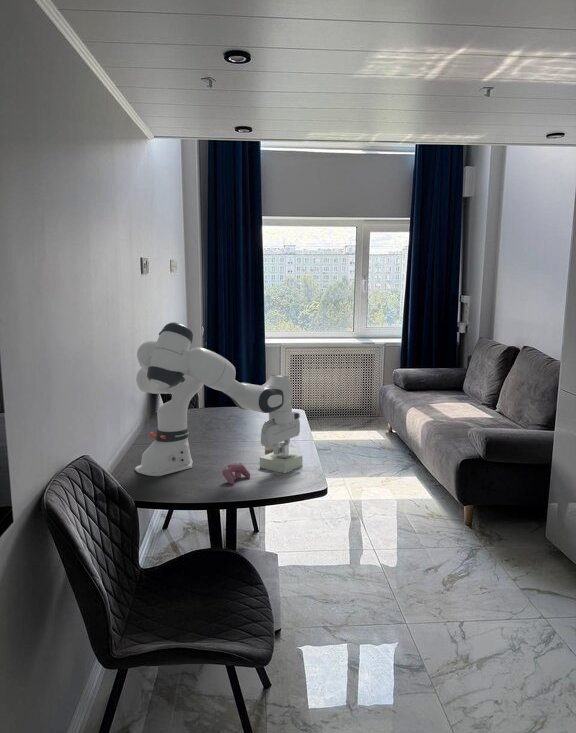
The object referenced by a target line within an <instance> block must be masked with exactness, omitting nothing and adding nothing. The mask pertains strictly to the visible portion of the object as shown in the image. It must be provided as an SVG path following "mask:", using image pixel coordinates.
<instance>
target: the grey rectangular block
mask: <svg viewBox="0 0 576 733" xmlns="http://www.w3.org/2000/svg"><path fill="white" fill-rule="evenodd" d="M289 445H290V443H289V444H285V443H284V442H280V443H278V446H277V448H278V449H280V451H279V452H280V453H279V454H277V455H275V454H274V450H273V457H276V458H280V459H285V460H286V459H288V458H289V453H290V448H289V447H290V446H289Z"/></svg>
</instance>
